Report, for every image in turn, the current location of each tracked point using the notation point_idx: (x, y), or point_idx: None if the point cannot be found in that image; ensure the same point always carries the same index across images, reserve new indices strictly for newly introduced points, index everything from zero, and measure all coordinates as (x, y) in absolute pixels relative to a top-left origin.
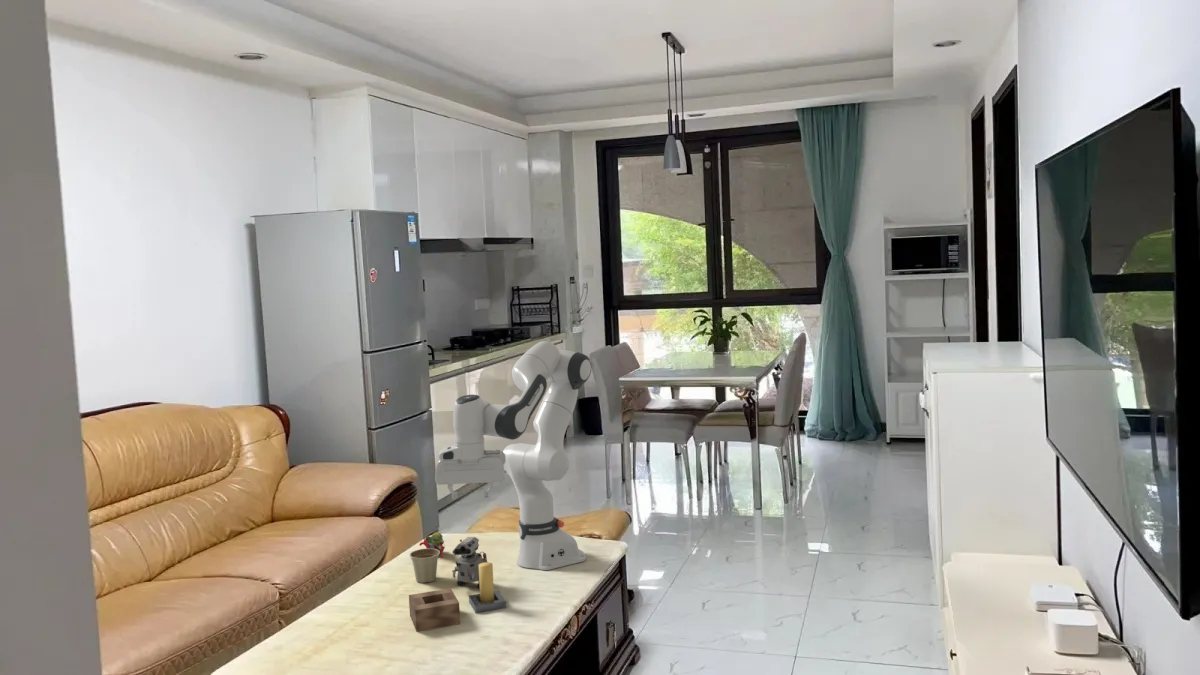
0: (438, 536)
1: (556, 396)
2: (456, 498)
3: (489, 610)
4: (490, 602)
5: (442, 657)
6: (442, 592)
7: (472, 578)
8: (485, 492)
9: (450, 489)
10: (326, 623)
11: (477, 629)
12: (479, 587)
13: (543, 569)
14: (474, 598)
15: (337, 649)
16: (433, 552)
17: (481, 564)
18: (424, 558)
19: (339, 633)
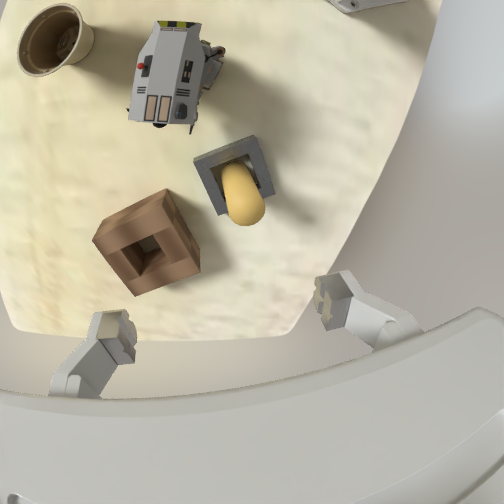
0: None
1: None
2: (133, 333)
3: None
4: None
5: (203, 328)
6: (151, 228)
7: (193, 121)
8: (331, 326)
9: (97, 391)
10: (12, 248)
11: (231, 266)
12: (204, 88)
13: (340, 10)
14: (209, 178)
15: (72, 311)
16: (67, 8)
17: (235, 207)
18: (52, 72)
19: (45, 276)
